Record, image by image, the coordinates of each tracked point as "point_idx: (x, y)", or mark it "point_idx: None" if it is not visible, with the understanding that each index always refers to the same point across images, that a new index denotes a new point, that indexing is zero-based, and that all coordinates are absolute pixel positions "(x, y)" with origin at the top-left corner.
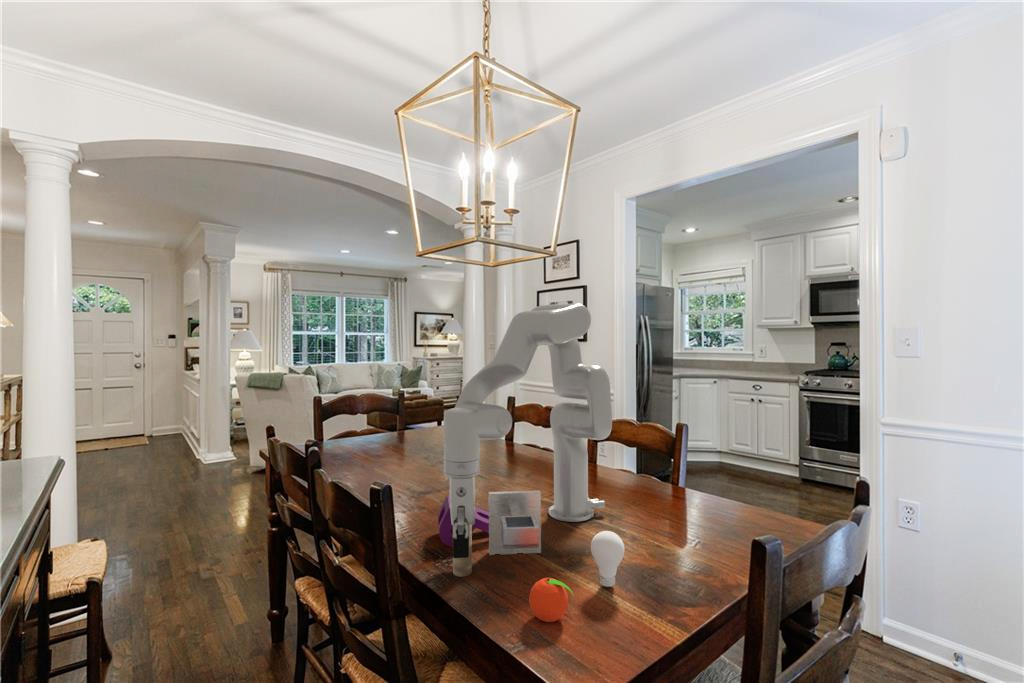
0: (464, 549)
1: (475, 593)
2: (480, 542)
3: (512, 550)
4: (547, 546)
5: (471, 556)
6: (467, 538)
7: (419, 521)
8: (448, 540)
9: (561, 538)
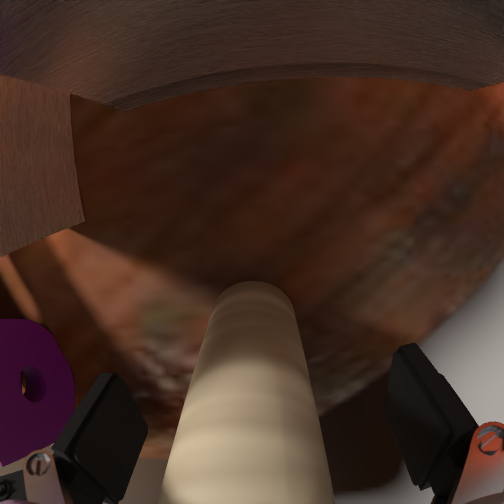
0: (451, 390)
1: (423, 242)
2: (15, 270)
3: (61, 117)
4: None
5: (256, 318)
6: (498, 423)
7: None
8: (63, 385)
9: None
